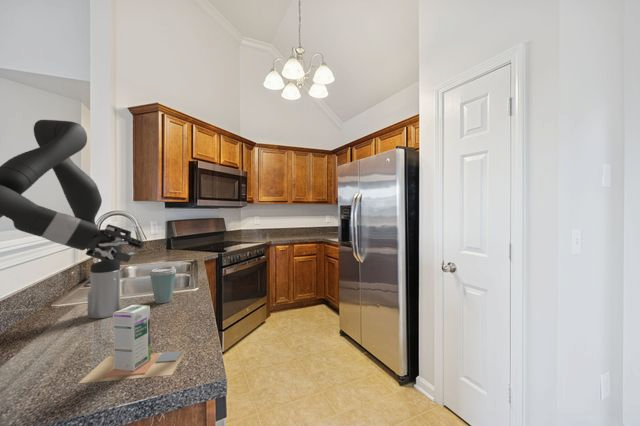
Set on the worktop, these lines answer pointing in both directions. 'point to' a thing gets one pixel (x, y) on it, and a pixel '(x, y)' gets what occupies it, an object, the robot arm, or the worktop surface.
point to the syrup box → (131, 337)
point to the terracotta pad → (139, 370)
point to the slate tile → (169, 356)
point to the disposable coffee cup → (163, 283)
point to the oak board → (153, 371)
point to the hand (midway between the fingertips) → (135, 252)
